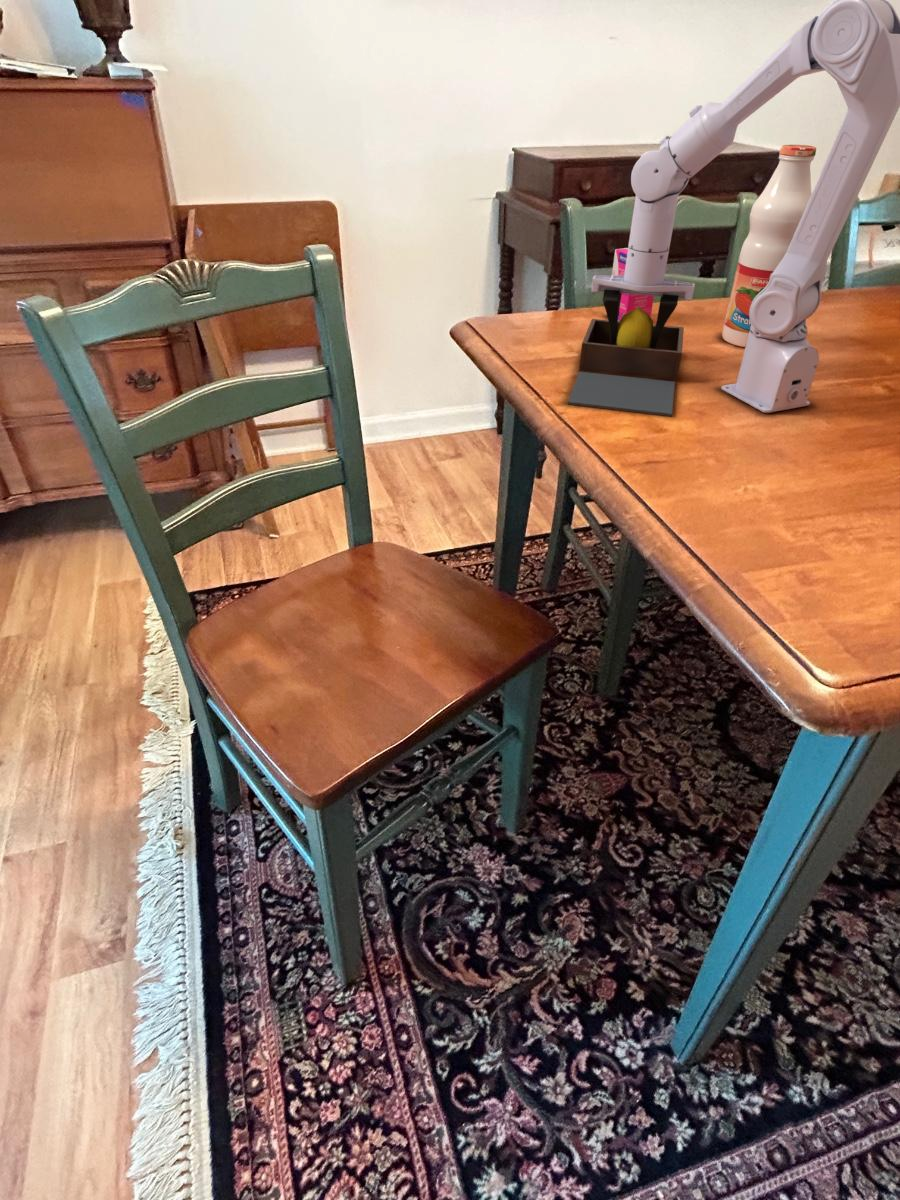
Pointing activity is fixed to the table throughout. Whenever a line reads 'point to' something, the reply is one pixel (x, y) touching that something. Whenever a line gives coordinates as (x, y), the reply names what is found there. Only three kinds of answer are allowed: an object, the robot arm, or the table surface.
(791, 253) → the robot arm
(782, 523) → the table surface
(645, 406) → the placemat
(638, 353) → the dark brown shallow box
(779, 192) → the fruit juice
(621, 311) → the supplement box
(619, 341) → the lemon
